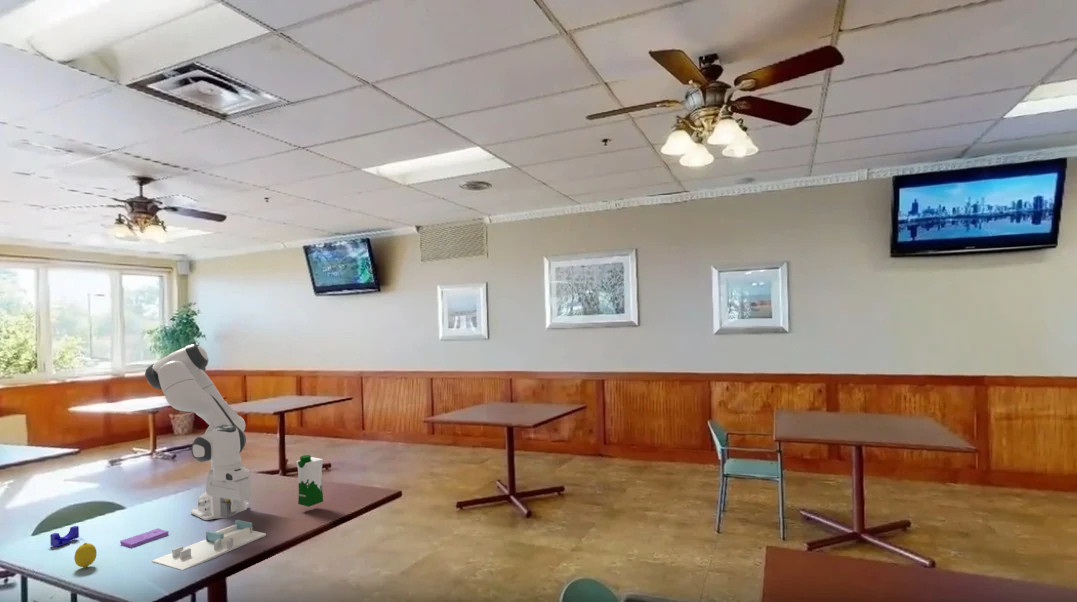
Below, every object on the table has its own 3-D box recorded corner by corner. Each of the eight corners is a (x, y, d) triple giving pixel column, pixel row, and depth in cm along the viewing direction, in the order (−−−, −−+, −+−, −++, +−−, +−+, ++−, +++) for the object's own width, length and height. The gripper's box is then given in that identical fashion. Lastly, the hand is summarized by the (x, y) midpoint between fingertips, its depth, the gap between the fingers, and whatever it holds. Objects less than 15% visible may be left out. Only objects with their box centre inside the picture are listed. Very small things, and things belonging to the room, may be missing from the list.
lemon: (82, 564, 183) (82, 539, 183) (100, 563, 183) (100, 538, 183) (70, 572, 177) (69, 547, 177) (88, 571, 178) (88, 546, 178)
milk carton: (294, 504, 235) (293, 456, 235) (313, 497, 242) (312, 451, 242) (308, 508, 230) (306, 459, 230) (326, 501, 238) (325, 453, 238)
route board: (151, 562, 183) (151, 553, 183) (236, 528, 210) (236, 520, 210) (182, 571, 176) (182, 561, 176) (266, 535, 203) (265, 526, 203)
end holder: (206, 541, 198) (206, 531, 198) (237, 528, 208) (237, 519, 208) (221, 545, 194) (220, 535, 194) (252, 532, 205) (252, 522, 205)
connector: (220, 516, 200) (220, 499, 200) (229, 513, 203) (229, 495, 203) (226, 517, 199) (226, 500, 199) (236, 514, 202) (235, 497, 202)
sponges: (168, 536, 206) (168, 531, 206) (130, 549, 195) (130, 544, 195) (158, 532, 209) (158, 527, 209) (119, 545, 198) (119, 540, 198)
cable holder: (57, 546, 198) (57, 535, 198) (50, 545, 199) (50, 534, 199) (81, 537, 206) (81, 526, 206) (74, 536, 207) (74, 525, 207)
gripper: (200, 471, 203) (201, 509, 203) (237, 477, 194) (238, 517, 194) (217, 466, 209) (218, 503, 209) (253, 471, 199) (255, 510, 199)
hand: (228, 510), depth 201 cm, fingers closed on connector, 3 cm apart
